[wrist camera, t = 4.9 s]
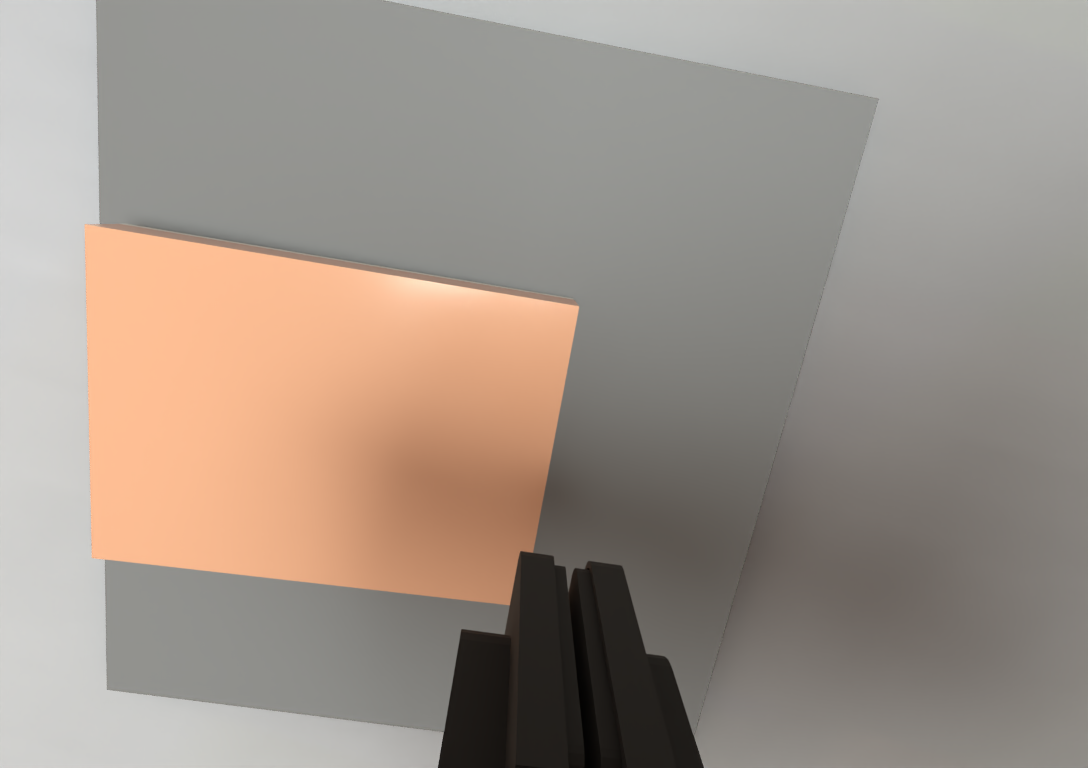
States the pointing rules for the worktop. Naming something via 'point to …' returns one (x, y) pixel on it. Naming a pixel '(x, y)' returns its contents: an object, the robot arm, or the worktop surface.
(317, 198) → the slate mat
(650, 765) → the robot arm
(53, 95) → the worktop surface
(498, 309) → the tile
